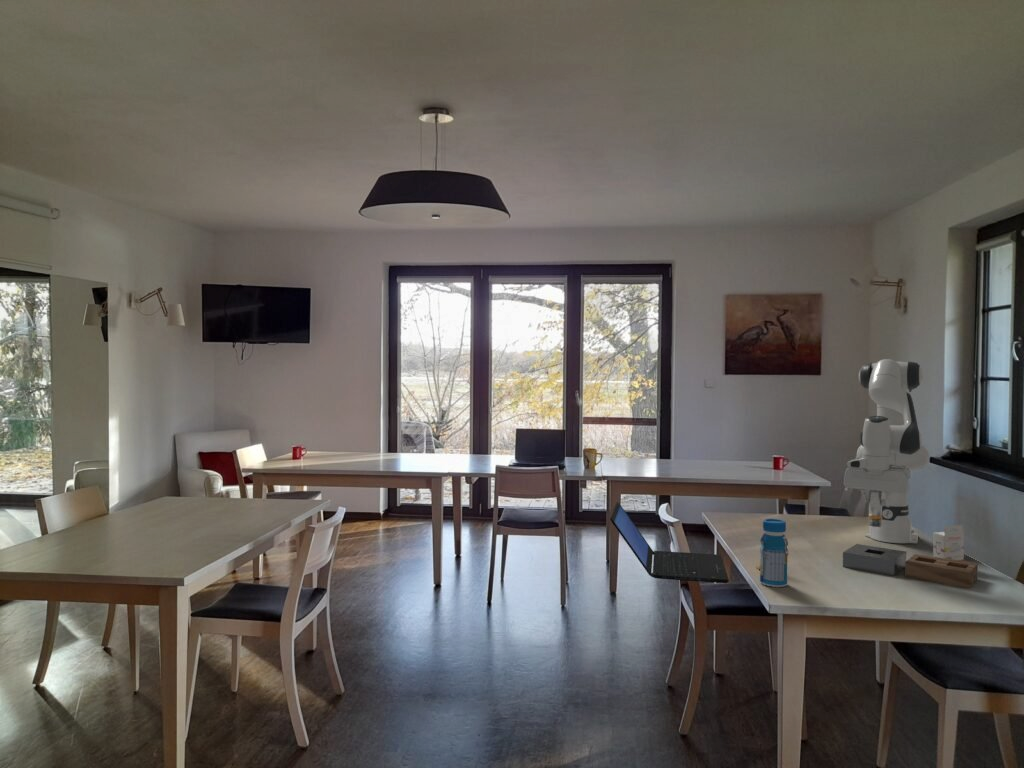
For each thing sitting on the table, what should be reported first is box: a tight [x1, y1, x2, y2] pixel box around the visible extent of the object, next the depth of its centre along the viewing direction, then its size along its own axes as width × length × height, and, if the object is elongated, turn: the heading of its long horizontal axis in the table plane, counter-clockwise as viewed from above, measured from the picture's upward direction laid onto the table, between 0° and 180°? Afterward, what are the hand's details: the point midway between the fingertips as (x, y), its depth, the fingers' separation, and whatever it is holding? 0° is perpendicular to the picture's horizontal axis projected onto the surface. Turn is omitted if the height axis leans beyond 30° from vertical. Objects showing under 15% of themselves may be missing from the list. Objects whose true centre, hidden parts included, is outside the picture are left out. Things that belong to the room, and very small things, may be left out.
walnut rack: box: [904, 553, 979, 589], centre depth 231 cm, size 14×18×5 cm
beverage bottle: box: [759, 518, 789, 588], centre depth 223 cm, size 8×8×20 cm
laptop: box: [609, 501, 729, 584], centre depth 242 cm, size 33×38×19 cm
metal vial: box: [868, 490, 882, 527], centre depth 244 cm, size 4×4×12 cm
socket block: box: [842, 543, 907, 576], centre depth 244 cm, size 16×16×5 cm
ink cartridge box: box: [932, 524, 965, 561], centre depth 245 cm, size 9×5×15 cm, turn 105°
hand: (875, 503), depth 244 cm, fingers closed on metal vial, 4 cm apart
